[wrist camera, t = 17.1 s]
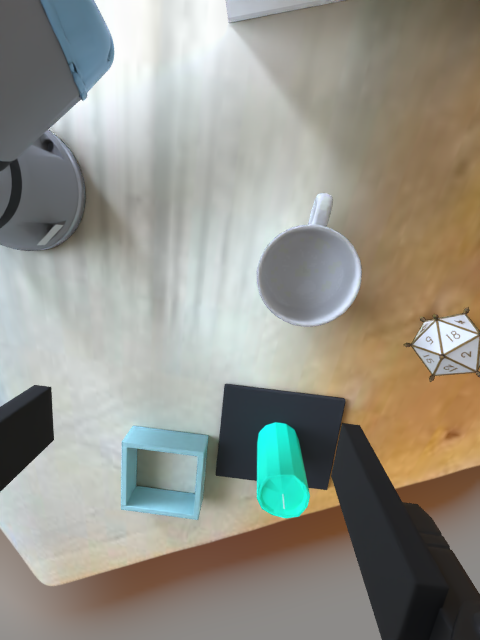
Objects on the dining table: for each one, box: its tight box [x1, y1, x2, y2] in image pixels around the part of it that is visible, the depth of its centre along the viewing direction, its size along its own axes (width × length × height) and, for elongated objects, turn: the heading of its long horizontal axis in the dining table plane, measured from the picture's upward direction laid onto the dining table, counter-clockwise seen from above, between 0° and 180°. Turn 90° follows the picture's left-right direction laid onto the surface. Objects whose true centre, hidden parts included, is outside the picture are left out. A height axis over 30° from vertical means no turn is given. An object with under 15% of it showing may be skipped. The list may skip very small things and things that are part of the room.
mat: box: [216, 384, 345, 490], centre depth 46 cm, size 17×15×1 cm
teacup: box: [257, 193, 362, 327], centre depth 36 cm, size 14×11×8 cm
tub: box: [121, 426, 208, 520], centre depth 47 cm, size 12×12×4 cm
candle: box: [257, 422, 310, 518], centre depth 40 cm, size 6×6×12 cm
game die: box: [404, 307, 480, 382], centre depth 37 cm, size 9×8×10 cm
